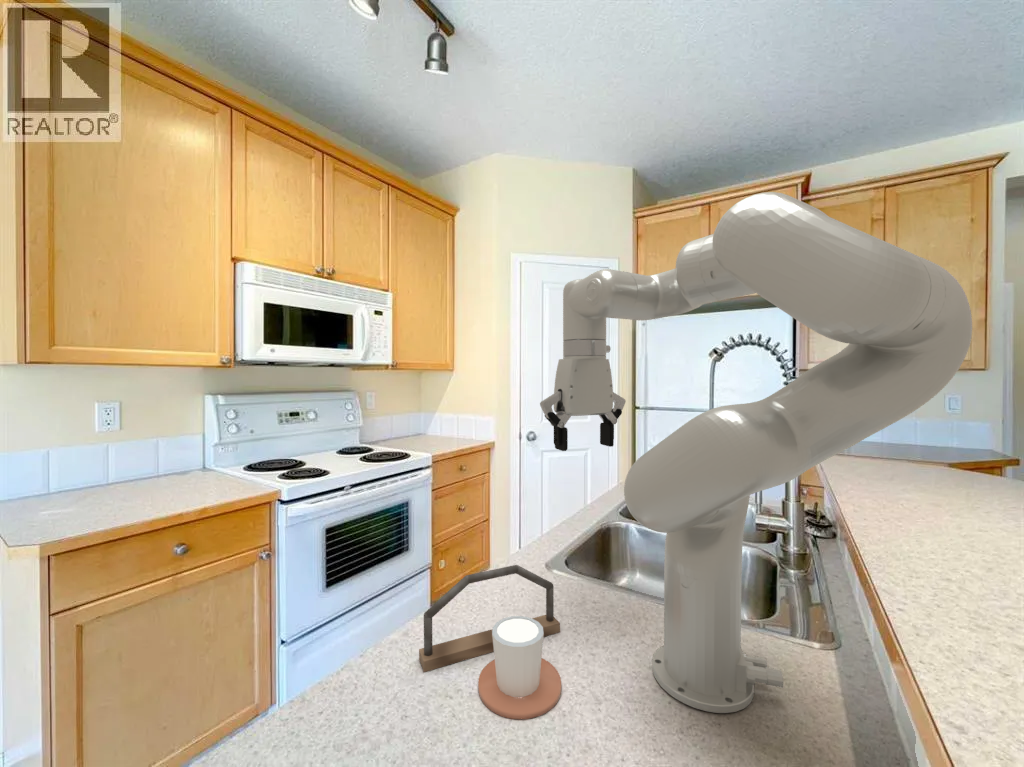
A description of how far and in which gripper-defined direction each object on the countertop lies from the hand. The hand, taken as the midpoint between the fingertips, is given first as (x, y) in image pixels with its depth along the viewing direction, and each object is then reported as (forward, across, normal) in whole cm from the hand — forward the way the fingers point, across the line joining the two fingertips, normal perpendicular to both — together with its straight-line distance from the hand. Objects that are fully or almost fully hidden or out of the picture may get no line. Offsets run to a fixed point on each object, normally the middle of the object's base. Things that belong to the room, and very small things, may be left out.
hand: (584, 447), depth 77 cm
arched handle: (+28, +19, +4) cm, 34 cm away
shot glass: (+28, +20, +14) cm, 37 cm away
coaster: (+28, +19, +13) cm, 37 cm away
